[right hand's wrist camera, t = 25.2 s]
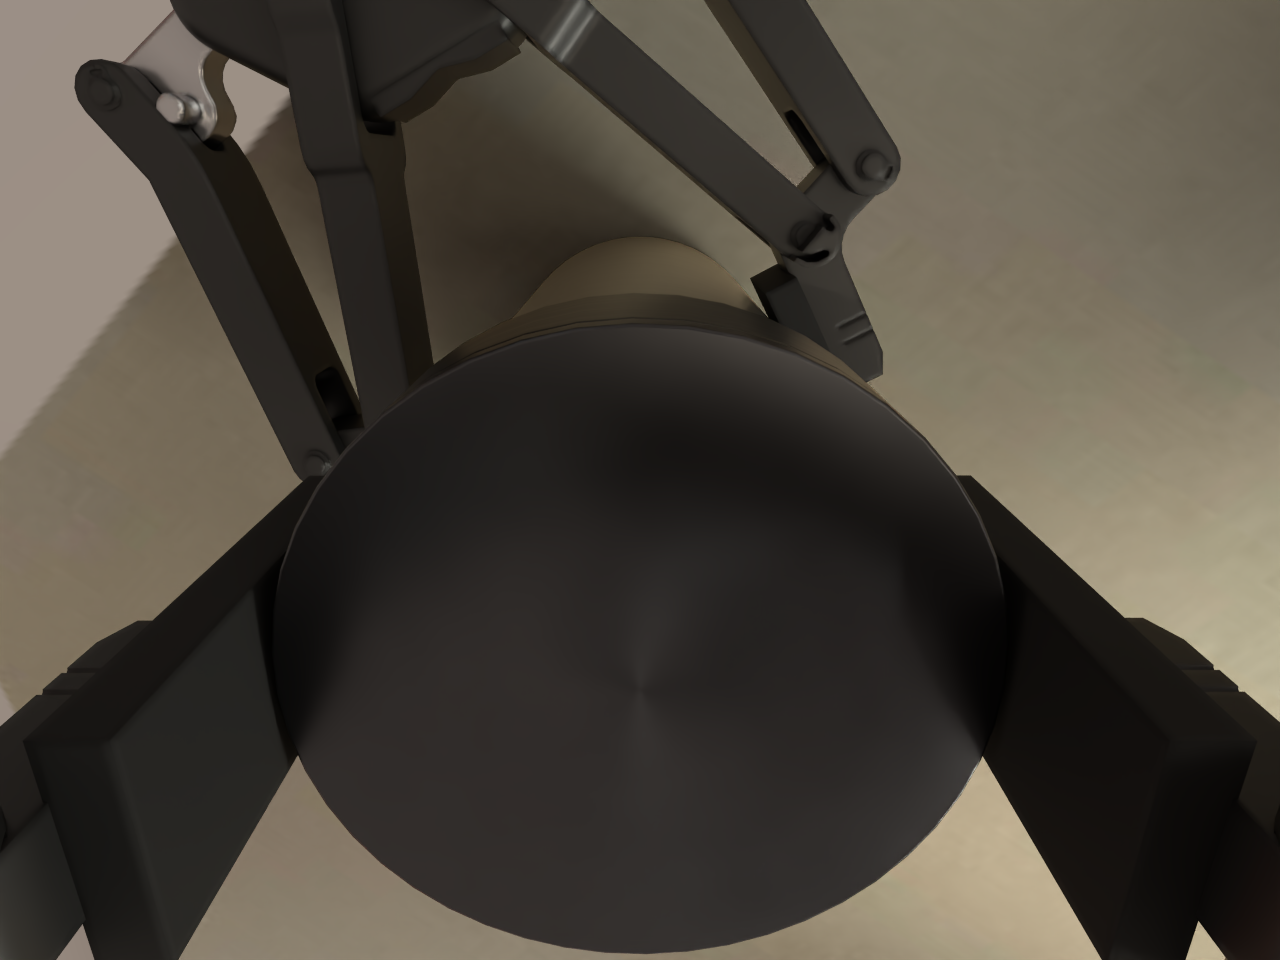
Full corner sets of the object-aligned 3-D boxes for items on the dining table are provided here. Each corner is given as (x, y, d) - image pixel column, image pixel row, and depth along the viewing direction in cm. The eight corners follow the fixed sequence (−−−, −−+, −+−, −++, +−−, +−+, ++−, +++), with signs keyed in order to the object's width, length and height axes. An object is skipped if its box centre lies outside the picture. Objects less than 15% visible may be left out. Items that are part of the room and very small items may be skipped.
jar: (551, 501, 28) (438, 923, 12) (486, 268, 25) (234, 429, 10) (781, 454, 28) (970, 835, 12) (741, 209, 25) (918, 280, 9)
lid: (208, 555, 12) (112, 640, 10) (698, 140, 10) (714, 130, 8) (600, 913, 14) (593, 1043, 12) (1054, 639, 12) (1141, 736, 10)
